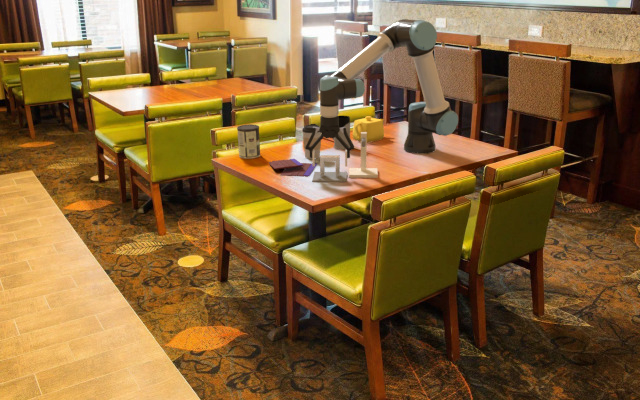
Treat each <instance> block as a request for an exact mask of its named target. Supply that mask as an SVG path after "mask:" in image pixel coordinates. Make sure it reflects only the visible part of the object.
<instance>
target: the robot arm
mask: <svg viewBox="0 0 640 400" xmlns="http://www.w3.org/2000/svg"><path fill="white" fill-rule="evenodd" d="M376 37H377V38H376V39H374V40H373V41H372V42H370V43H369V44H368V45H367V46H366V47H364V48H363V49H362V50H361V51H360V52H358V53H357V54H356V55H354V57H352V58H351V59H349V60H348V61H347V62H346V63H345V64H344V65H342V66H341V67H339V69H337V70H336V71H335V72H333V73H332V74H326V75H324V76H323V77H320V79H319V104H320V105H319V112H320V115H321V116H320V120H319V121H320V125H319V127H320V128H317V127H315V126H314V127H313V132H312V134H311V136H310V139H309V141H308V143H307V145H306V147H305V149H307V150H309V151H310V158H312V163H313V166H315V163H316V161H315V160H316V158H315V150H313V149H314V148H315V147H316V145H317V144H318V143H319V142H320V141H321V142H322V140H323V139H324V138H325V139H333V138H336V139H337V140H338V141H339V142H340V143H341V144H342V145H343V146H344V147H345V149H344V150H345V151H344V154H345V155H344V156H345V157H344V158H345V159H344V163H345V164H344V166H345V167H348V159H350V158H351V151H352V150H355V144H354V143H353V140H352V139H351V136H350V137H349V135H348V133H347V129H346V127H345V126H344V127H342V128H339V116H340V115H339V114H340V113H339V110H340V108H339V106H340V105H339V102H340V100H341V101H343V100H349V99H357V98H361V97H363V95H364V94H365V90H366V89H365V88H366V87H365V84H364V81H363V80H362V79H360V78H357V77H359V76H360V75H362V73H364V72H365V71H366V70H367V69H369V68H370V67H371V66H372V65H374V64H375V63H376V62H377V61H379V60H380V59H381V58H382V57H383V56H385V55H386V54H387V53H392V52H393V51H394V50H396V49H398V48H406V52H407V55H408V57H410V58H411V59H412V60H413V62H414V63H413V64H414V67H415V70H416V74H417V77H418V82H419V84H420V89H421V92H422V95H423V100H424V101H418V102H417V101H416V102H412V103H410V104H409V106H408V115H407V116H408V117H407V118H408V120H407V122H408V123H407V136H406V139H405V141H404V144H403V150H404V151H405V152H407V153H411V154H430V153H431V154H432V153H434V152H436V141H435V140H434V136H433V134H434V135H435V134H436V135H437V136H444V137H445V136H446V137H447V136H450V135H451V134H453V132H455V130H456V128H457V127H458V124H459V116H458V114H457V112H455V111H454V110H452V109H451V105H450V102H449V101H447V100H445V96H444V92H443V88H442V84H441V82H440V77H439V73H438V69H437V66H436V61H435V57H434V53H433V51H434V50H435V47H436V42H437V40H438V33H437V29H436V27H435V26H434V24H432V23H431V22H430V21H426V20H422V19H416V20H415V19H407V18H405V19H400V20H397V21H395V22H393V23H391V24H389V25H388V26H386V27H385V28H384V29H383V30H382V31H380V32H379V33H378V34H377V36H376ZM318 131H320V132H321V135H320V136H319V138H318V139H317V140H316V141H315V142H314V144H313V145H312V146H311V147H310V144H311V142H312V139H313V137H314V135H315V133H317V132H318ZM339 131H342V133H344V135H345V137H346V139H347V141H348V143H349V145H350V147H349V146H348V145H347V144H346V143H345V141H344V140H343V139H342V138H341V137H340V135H339V134H338V133H339Z"/></svg>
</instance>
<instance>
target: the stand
mask: <svg viewBox="0 0 640 400" xmlns="http://www.w3.org/2000/svg"><path fill="white" fill-rule="evenodd" d="M367 144H368V142H367V132H361V141H360V167H349V171H348V178H351V179H353V178H354V179H356V178H361V179H364V178H365V179H368V178H369V179H378V177H379V173H378V172H379V171H378V167H367Z"/></svg>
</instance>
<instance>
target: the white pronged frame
mask: <svg viewBox="0 0 640 400" xmlns="http://www.w3.org/2000/svg"><path fill="white" fill-rule="evenodd" d="M340 159H341V156H340V155H337V154H335V155H333V154H332V155H331V154H329V155H324V154H320V157H319V168H320V169H319V172H320V177H324V176H325V172H326V170H325V168H326V166H325V162H335V172H336V177H337V178H339V177H340V172H341V170H340V169H341V167H340V166H341V165H340V164H341V160H340Z"/></svg>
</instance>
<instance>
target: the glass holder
mask: <svg viewBox="0 0 640 400" xmlns="http://www.w3.org/2000/svg"><path fill="white" fill-rule="evenodd" d="M338 116H339V128H342V127H344V126H345V127H346V129H347V133H348V135H349V137H350V138H351V116H348V115H338ZM338 134H339V135H340V137H341V138H342V139H343V140H344V141H345V143H346V144H347V145H348V146H349V147H350V145H349V143H348V141H347V139H346V137H345V135H344V133H342V131H339V133H338ZM332 140H334V141H333V143H334V144H333V149H336V150H346V149H345V147H344V146H343V145H342V144H341V143H340V142H339V141H338V140H337V139H336V138H332Z"/></svg>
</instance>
